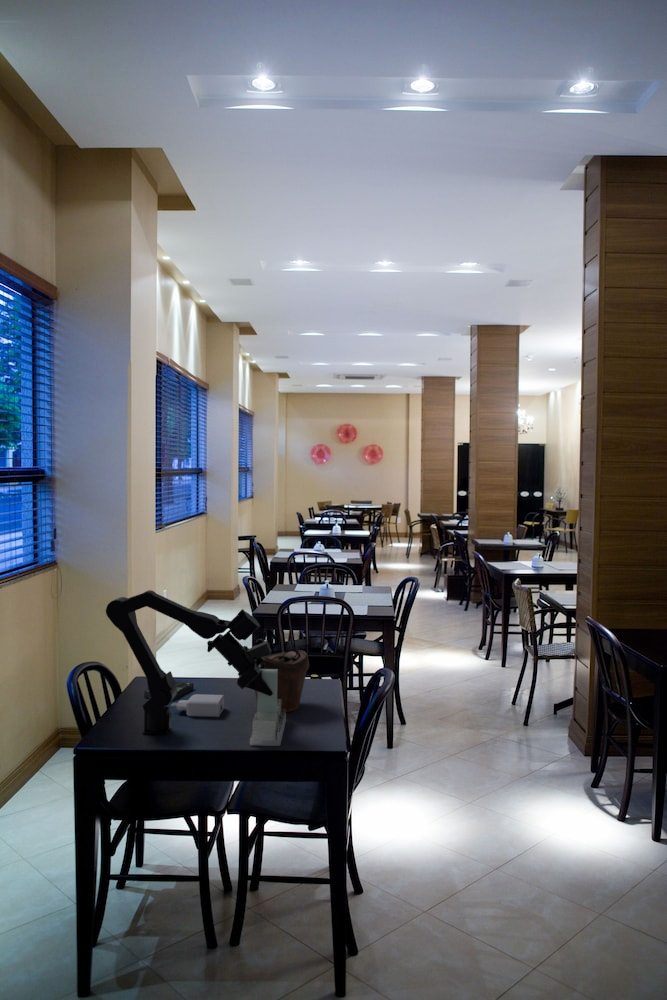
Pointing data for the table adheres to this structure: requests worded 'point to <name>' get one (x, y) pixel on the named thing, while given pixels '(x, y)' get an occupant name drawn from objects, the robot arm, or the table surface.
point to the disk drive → (181, 690)
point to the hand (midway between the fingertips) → (272, 692)
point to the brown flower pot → (288, 676)
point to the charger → (202, 705)
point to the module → (264, 701)
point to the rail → (279, 734)
